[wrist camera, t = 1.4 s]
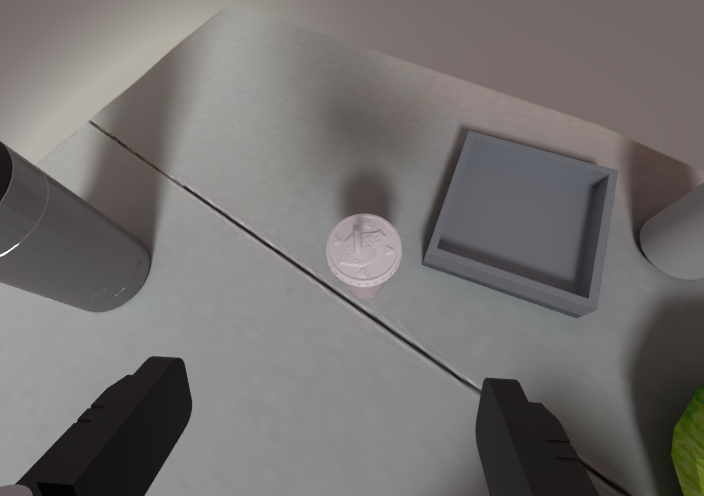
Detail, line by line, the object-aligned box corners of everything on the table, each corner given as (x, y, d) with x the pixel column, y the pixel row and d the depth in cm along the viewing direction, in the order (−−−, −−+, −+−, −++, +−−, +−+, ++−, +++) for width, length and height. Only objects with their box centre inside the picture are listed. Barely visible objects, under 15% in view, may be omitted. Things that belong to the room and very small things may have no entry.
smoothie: (323, 276, 40) (300, 215, 27) (371, 243, 41) (371, 169, 28) (358, 324, 38) (352, 283, 25) (408, 288, 39) (426, 230, 26)
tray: (422, 264, 40) (426, 252, 36) (461, 149, 45) (468, 130, 42) (576, 318, 37) (596, 309, 34) (599, 188, 42) (618, 170, 39)
